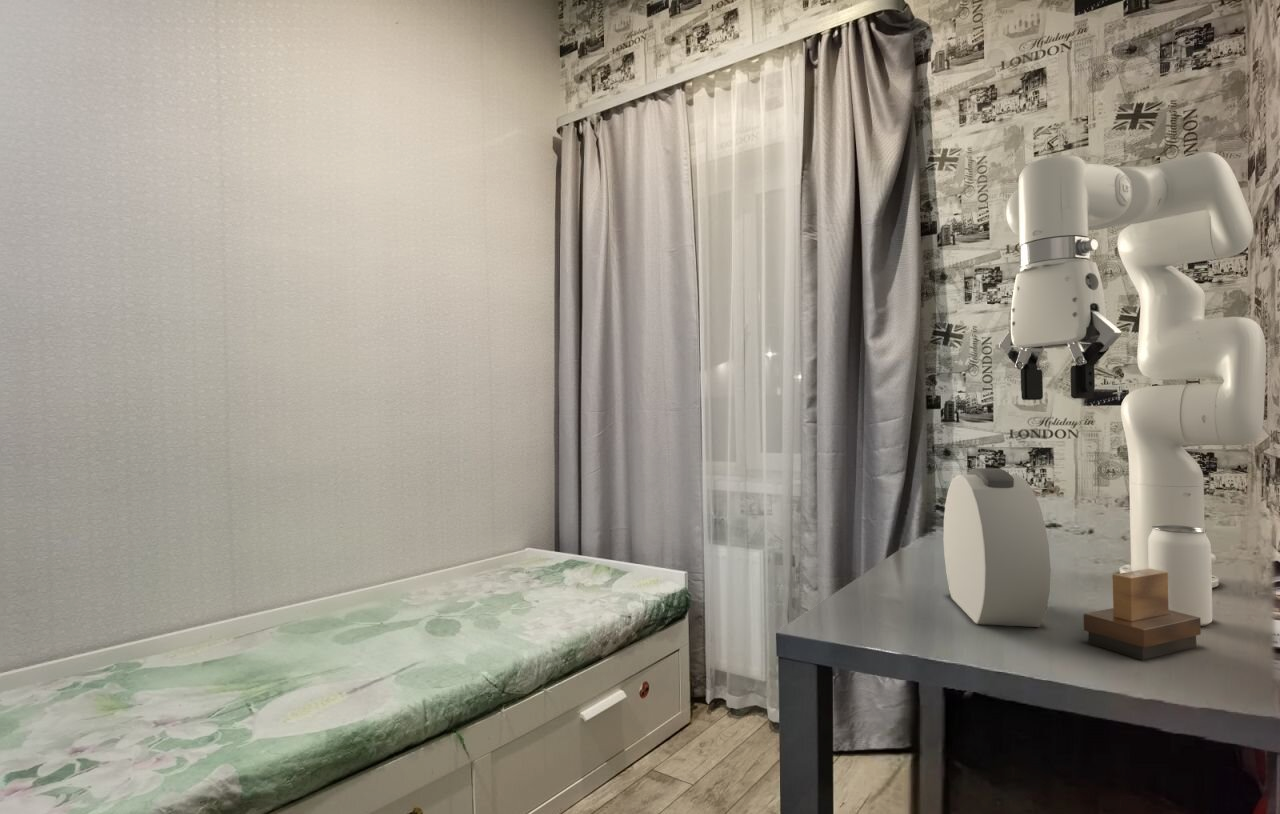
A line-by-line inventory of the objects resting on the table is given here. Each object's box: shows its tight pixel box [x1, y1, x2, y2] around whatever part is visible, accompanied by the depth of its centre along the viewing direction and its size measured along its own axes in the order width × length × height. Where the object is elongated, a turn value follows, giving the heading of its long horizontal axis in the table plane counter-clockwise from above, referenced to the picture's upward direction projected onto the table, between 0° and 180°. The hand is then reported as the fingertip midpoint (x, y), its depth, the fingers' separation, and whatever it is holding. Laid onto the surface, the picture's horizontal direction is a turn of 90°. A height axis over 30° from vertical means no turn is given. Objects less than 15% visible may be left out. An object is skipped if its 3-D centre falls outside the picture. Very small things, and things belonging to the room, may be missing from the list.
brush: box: [1083, 569, 1202, 661], centre depth 78 cm, size 11×7×8 cm, turn 113°
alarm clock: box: [943, 467, 1052, 628], centre depth 92 cm, size 21×8×20 cm, turn 168°
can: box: [1148, 525, 1213, 627], centre depth 88 cm, size 6×6×12 cm
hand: (1056, 397), depth 84 cm, fingers open, 6 cm apart
